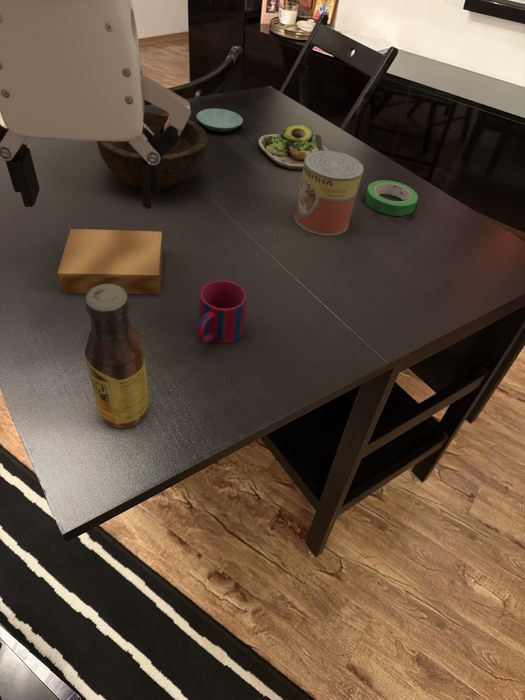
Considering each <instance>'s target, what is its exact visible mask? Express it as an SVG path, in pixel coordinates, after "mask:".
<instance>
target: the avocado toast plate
mask: <svg viewBox="0 0 525 700" xmlns="http://www.w3.org/2000/svg"><path fill="white" fill-rule="evenodd" d="M322 141H323V139H322V136H321V135H319V134H316V133H315V134H314V131H313V129H312V128H311V127H310V126H309V125H307V124H302V123H295V124H290V125H287V126H286V128H283V132H282V133H272V134H271V133H270V134H264V135H262V136H260V137H259V139H258V140H257V144H258V148H259V150H260V151H261V152H262V153H264V154H265V155H266V156H267V157H268V158H269V159H270V160H272V161H273V162H275V164H278V165H279V166H280V167H282V168H286V169H289V170H293V171H294V170H295V171H303V167H304V159H305V156H306V155H307V154H309V153H311V152H314V151H319V150H329V148H328V147H326V146H325V145H323V142H322Z"/></svg>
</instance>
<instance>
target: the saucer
mask: <svg viewBox="0 0 525 700" xmlns="http://www.w3.org/2000/svg"><path fill="white" fill-rule="evenodd" d="M196 119H197V121H198V122H199V123H200V124H201V125H202V126H203V127H205V128H207V129H208V130H211V131H213V132H218V133H225V132H231V131H233V130H235V129H237V128H239V127H240V126H241V125H242V124H243V122H244V119H243V117H242V116H241V115H240V114H238V113H237V112H235V111H232V110H229V109H224V108H205V109H202V110H200V111H199V112H198V113H197V114H196Z"/></svg>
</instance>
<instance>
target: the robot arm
mask: <svg viewBox="0 0 525 700" xmlns="http://www.w3.org/2000/svg"><path fill="white" fill-rule="evenodd" d="M136 23H137V22H136V18H135V12H134V8H133V4H132V0H0V116H1V119H2V121H3V122H4V126H3V125H2V124H0V159H1V160H2V161H5V164H6V167H7V168H6V169H7V171H8V174H9V178H10V181H11V185H12V188H13V191H14V192H15V193H20V195H21V199H22V203H23V206H24V208H33V206H36V202H37V199H38V196H39V193H40V184H39V181H38V177H37V172H36V168H35V164H34V160H33V157H32V152H31V148H30V147H28V145H27V144H25V143H24V142H25V141H26V139H27V138H30V139H39V140H40V139H41V140H58V141H59V140H60V141H61V140H62V141H84V142H86V141H87V142H97V141H115V142H120V141H128V143H129V144H130V145H131V146H132V147H133V148H134V149H135V150H136V151H137V152H138V153H139V154H140V177H141V198H142V199H141V200H142V208H145V210H151V209H152V205H153V204H152V203H153V196H159V195H160V189H159V177H158V163H159V162H160V158H161V157H163V156H164V155H165V154H166V153H167V152H168V151H169V150H170V149H171V148H172V147H173V146H174V145H175V144H176V143H177V142H178V139H179V136H180V134H181V132H182V131H183V129H184V127H185V125H186V123H187V121H188V119H189V120H190V117H191V115H192V109H191V103H190V101H188V100H187V99H186V98H184V97H182V96H180V95H179V94H177V93H176V92H174V91H173V90H170V89H169V88H167V87H165V86H163V85H162V84H160V83H159V82H157V81H155V80H153V79H152V78H150V77H148V76H147V75H145V74H144V73H143V69H142V62H141V61H142V60H141V52H140V44H139V36H138V30H137V24H136ZM145 101H146V102H148V103H149V104H150V105H153V106H154V107H156V108H158V109H160V110H162V111H164V113H168V114H169V117H168V120H167V122H166V123H165V124H164V125H163V126H162V127H161V128H160V129H159V130H158V131H157V132H156V133H155V134H154V133H153V132H152V131H151V130H150V129H149V128H148V127H147V126H146V124H145V123H144V122H143V117H144V114H145V112H146V102H145ZM5 127H6V128H5Z"/></svg>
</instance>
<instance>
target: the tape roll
mask: <svg viewBox="0 0 525 700" xmlns="http://www.w3.org/2000/svg"><path fill="white" fill-rule="evenodd" d="M381 195H390V196H393V197H396V198H398V199H400V200H401V201H399V200H398V201H397V200H396V201H395V200H391V199H388V198H385V197H383V196H381ZM418 200H419V196H418V193H417V192H416V191H415V189H413V188H411V187H410V186H408V185H407V184H405V183H401V182H400V181H399V182H398V181H394V180H386V179H383V180H374V181H372V182H371V183H369V184H368V185H367V188H366V191H365V196H364V202H365V204H366V205H367V206H368V207H369V208H371V209H372V210H373V211H375V212H378V213H380V214H383V215H386V216H391V217H405V216H408V215H410V214H412V213H413V212H414V211H415V209H416V205H417V202H418Z"/></svg>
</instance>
